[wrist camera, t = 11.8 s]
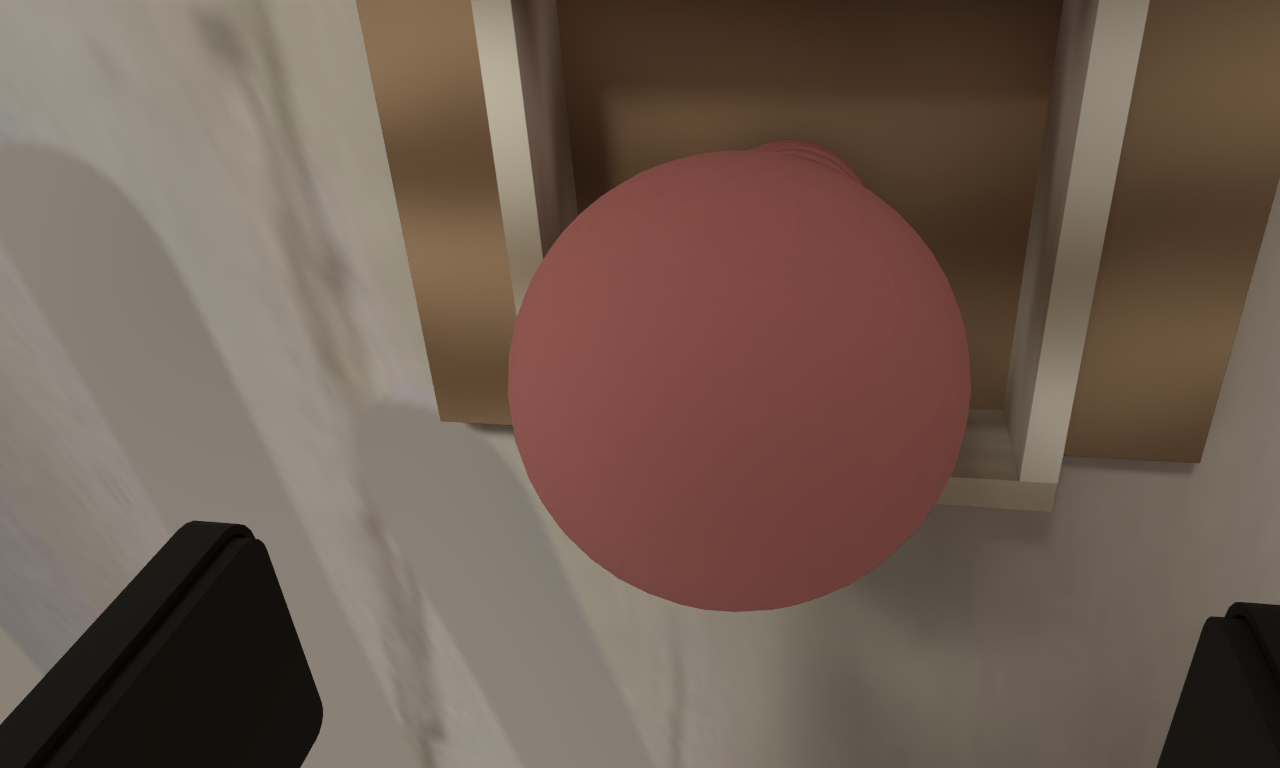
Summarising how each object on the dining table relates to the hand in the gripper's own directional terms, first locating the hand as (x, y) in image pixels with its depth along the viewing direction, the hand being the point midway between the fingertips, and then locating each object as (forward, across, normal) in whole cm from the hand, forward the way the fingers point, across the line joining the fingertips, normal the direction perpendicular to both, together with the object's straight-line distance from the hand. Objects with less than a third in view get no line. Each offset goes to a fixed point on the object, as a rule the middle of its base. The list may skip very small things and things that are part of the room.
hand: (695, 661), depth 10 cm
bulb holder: (+16, 0, +1) cm, 16 cm away
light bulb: (+15, 0, +1) cm, 15 cm away
